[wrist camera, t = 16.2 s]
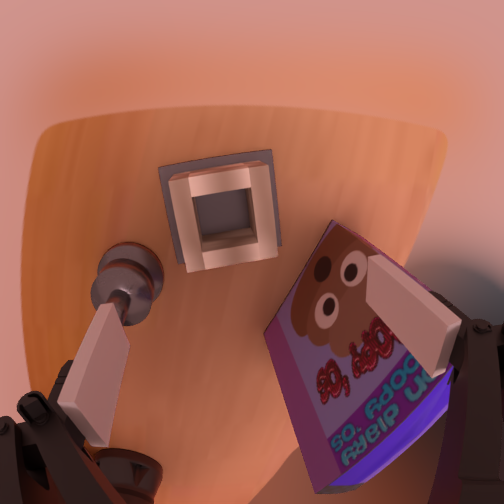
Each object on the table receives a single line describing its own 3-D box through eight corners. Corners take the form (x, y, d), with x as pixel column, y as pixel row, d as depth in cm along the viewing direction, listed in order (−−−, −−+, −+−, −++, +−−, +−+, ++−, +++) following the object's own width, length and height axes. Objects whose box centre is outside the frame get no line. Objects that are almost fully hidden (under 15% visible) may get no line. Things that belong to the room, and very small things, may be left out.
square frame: (189, 253, 34) (187, 272, 29) (173, 174, 31) (168, 181, 26) (268, 239, 35) (278, 256, 30) (258, 160, 31) (268, 165, 27)
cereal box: (331, 219, 36) (476, 336, 14) (360, 235, 37) (499, 348, 15) (263, 333, 40) (315, 495, 18) (292, 342, 42) (355, 491, 20)
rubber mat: (178, 261, 35) (178, 264, 34) (159, 167, 31) (158, 167, 30) (280, 244, 36) (281, 246, 35) (270, 149, 32) (271, 149, 31)
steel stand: (111, 307, 36) (83, 377, 24) (92, 249, 33) (47, 306, 21) (170, 297, 36) (161, 371, 24) (154, 236, 33) (131, 293, 21)
